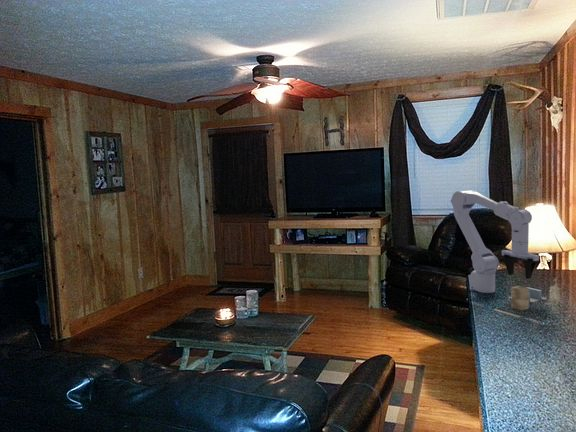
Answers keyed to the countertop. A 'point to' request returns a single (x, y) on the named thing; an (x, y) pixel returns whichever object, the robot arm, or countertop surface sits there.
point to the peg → (520, 298)
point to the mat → (509, 313)
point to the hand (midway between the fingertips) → (519, 276)
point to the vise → (534, 295)
